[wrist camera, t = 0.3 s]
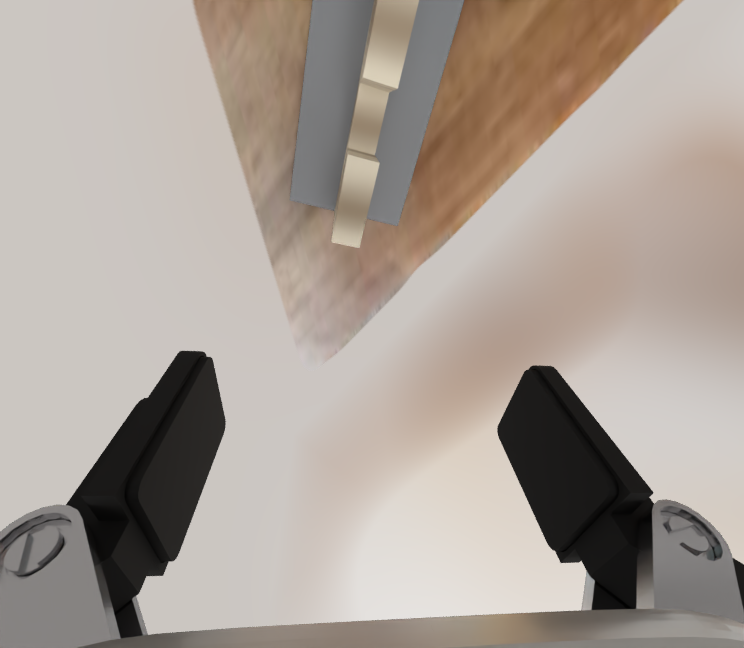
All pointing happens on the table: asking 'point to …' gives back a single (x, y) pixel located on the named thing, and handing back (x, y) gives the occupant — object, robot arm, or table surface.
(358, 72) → the charcoal base board
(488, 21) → the table surface
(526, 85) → the table surface
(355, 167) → the birch slotted plate
